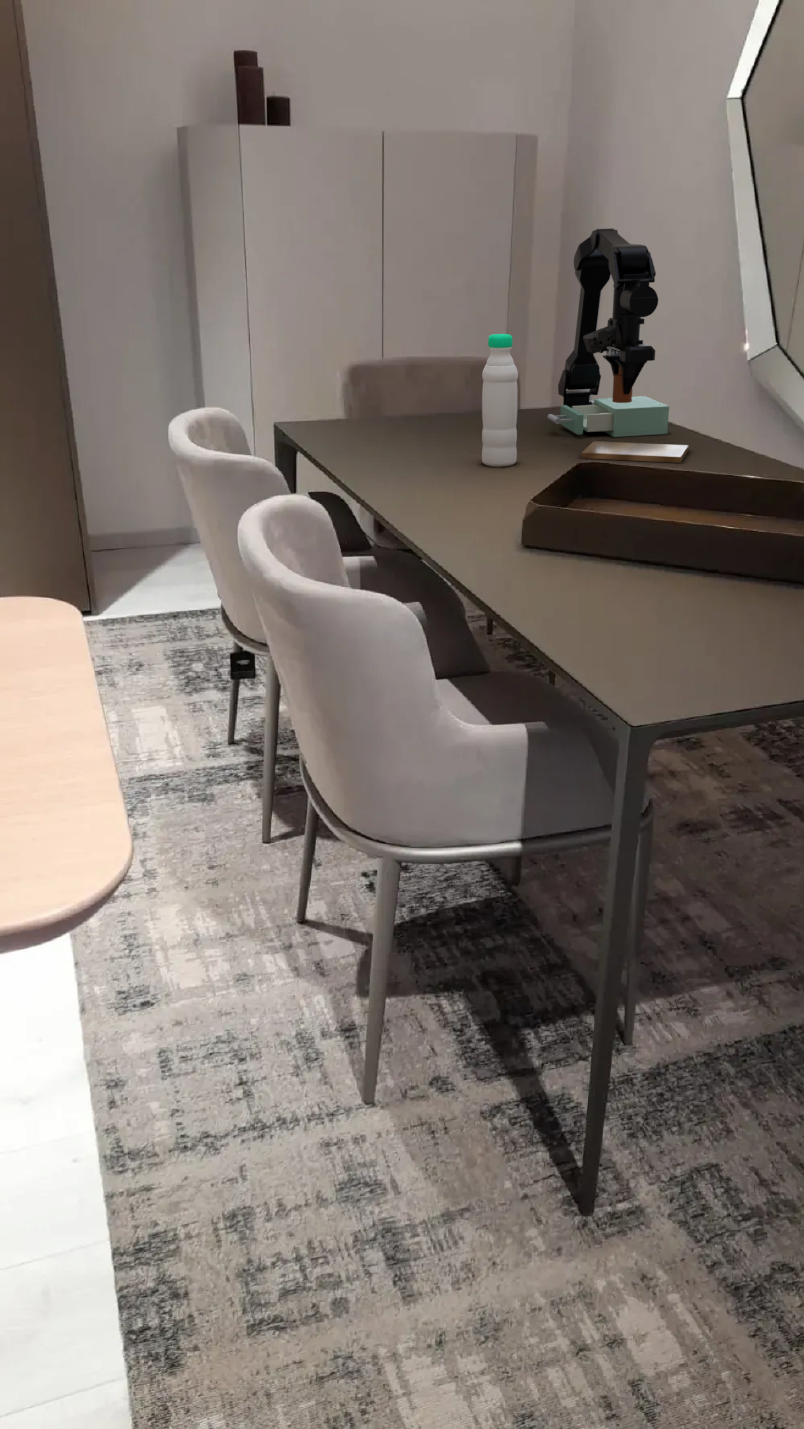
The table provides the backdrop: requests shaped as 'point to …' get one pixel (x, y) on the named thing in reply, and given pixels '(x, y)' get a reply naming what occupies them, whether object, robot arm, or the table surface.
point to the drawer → (584, 418)
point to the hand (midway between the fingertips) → (622, 392)
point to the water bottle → (499, 404)
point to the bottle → (620, 390)
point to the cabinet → (637, 416)
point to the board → (635, 452)
